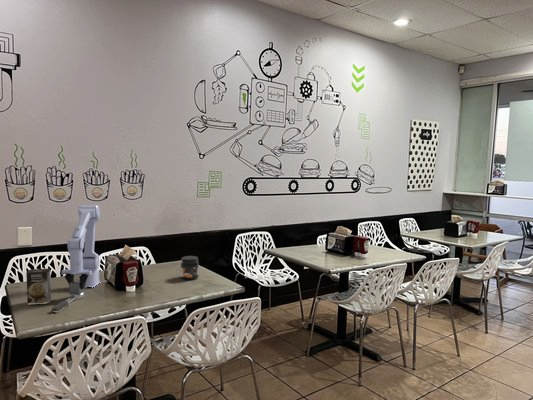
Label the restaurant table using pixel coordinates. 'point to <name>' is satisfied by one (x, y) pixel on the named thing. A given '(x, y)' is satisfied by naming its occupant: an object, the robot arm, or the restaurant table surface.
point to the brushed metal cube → (76, 287)
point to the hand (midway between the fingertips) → (77, 288)
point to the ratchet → (66, 302)
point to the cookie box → (38, 286)
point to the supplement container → (189, 268)
